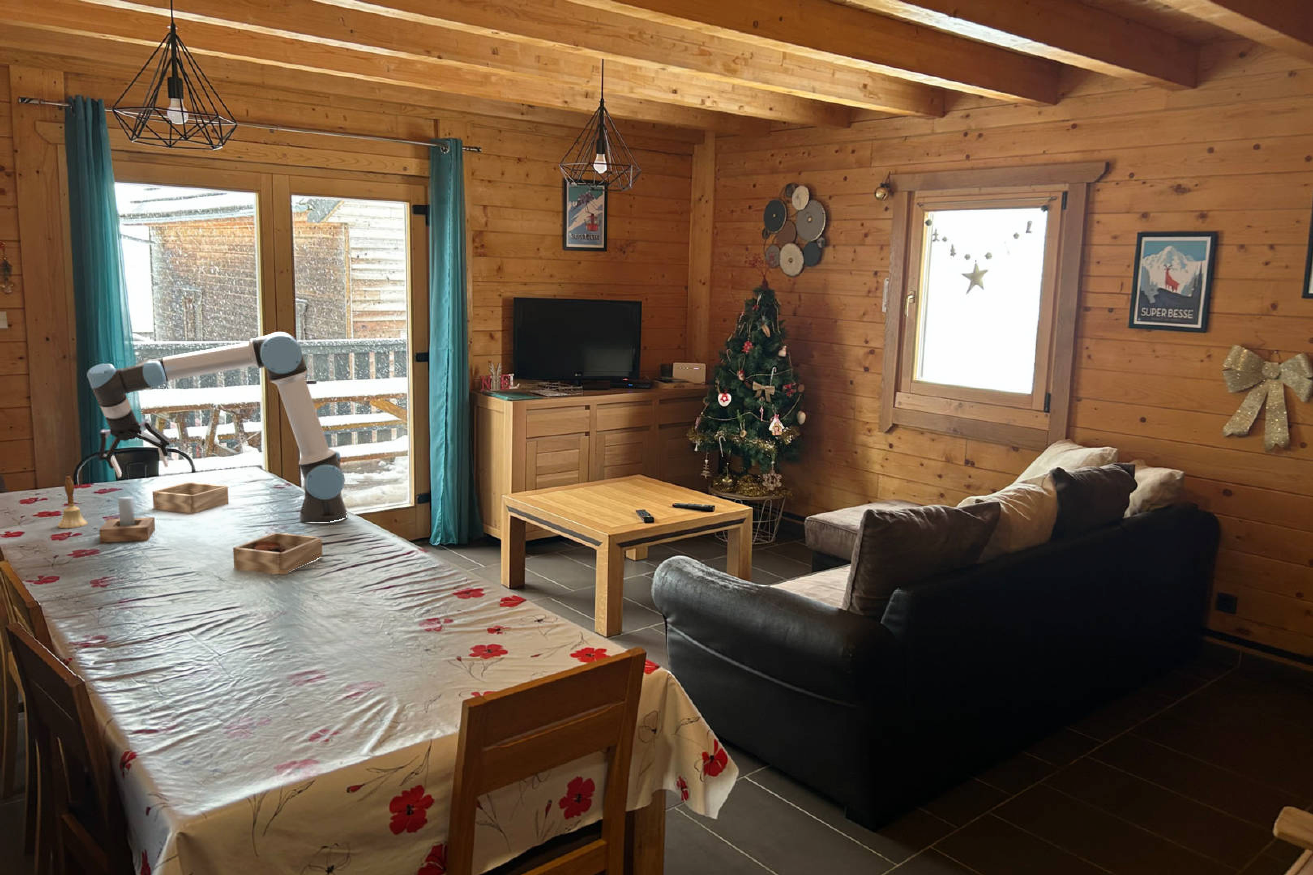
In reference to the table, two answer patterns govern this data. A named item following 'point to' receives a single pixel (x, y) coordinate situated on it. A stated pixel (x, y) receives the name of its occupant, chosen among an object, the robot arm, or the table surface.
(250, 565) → the open wooden box
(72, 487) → the hand bell
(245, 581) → the table surface
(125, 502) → the peg
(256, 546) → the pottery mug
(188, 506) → the wooden tray
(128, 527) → the socket
